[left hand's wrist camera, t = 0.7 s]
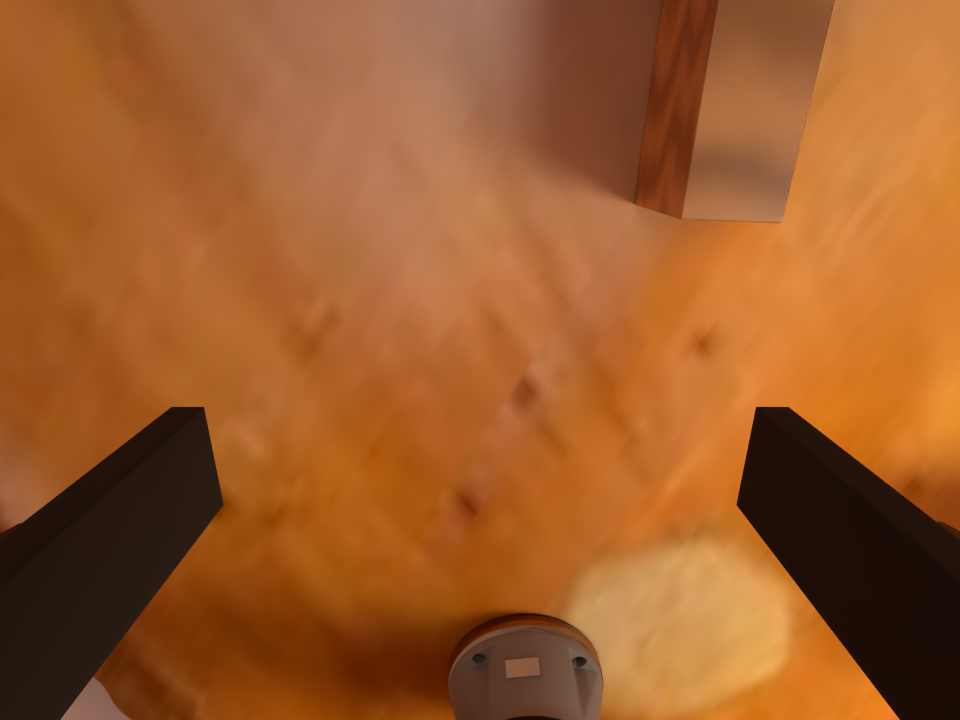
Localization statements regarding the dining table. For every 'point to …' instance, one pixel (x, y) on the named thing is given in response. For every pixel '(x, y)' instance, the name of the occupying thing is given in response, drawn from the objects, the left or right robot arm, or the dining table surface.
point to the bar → (729, 106)
